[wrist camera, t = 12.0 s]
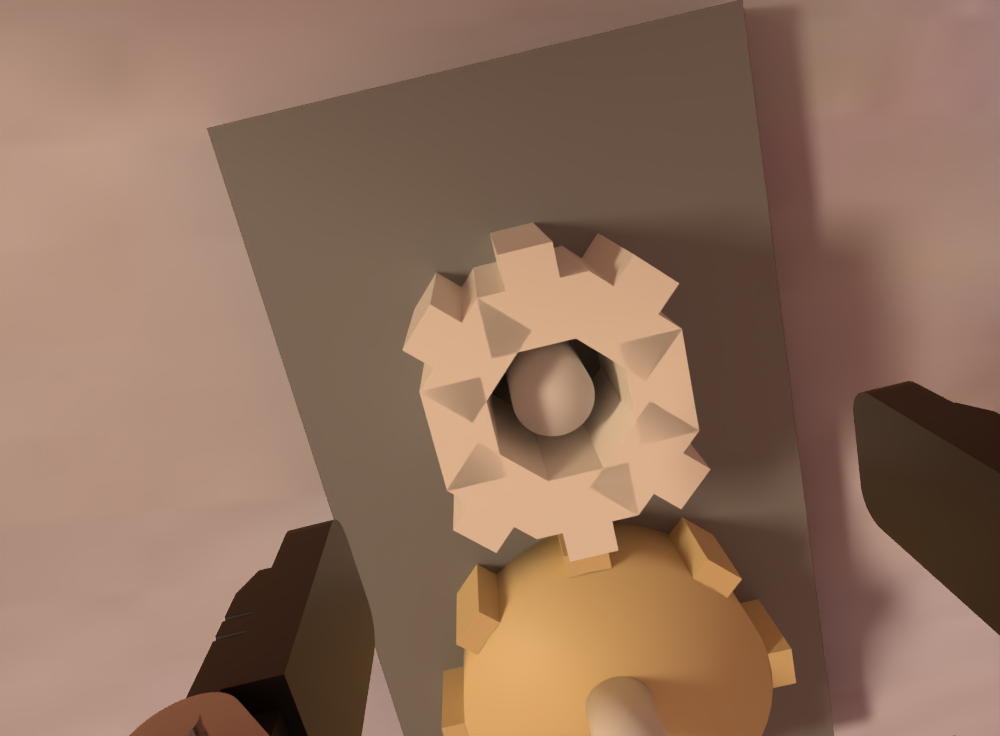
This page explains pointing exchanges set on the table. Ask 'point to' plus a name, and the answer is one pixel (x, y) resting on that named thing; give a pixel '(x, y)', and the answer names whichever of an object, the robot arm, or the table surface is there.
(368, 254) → the gear board
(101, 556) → the table surface
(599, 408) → the loose gear
